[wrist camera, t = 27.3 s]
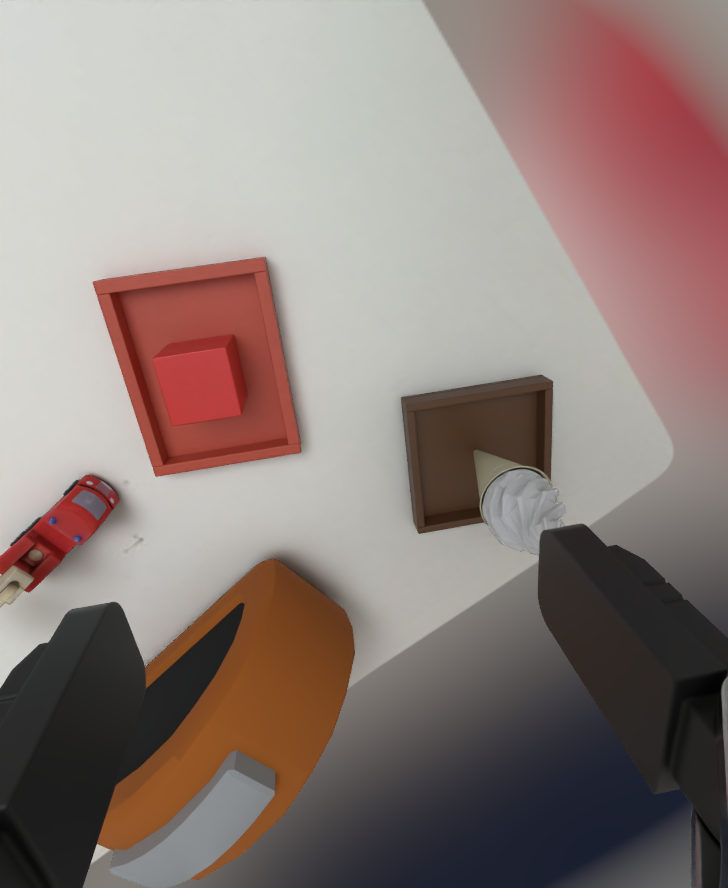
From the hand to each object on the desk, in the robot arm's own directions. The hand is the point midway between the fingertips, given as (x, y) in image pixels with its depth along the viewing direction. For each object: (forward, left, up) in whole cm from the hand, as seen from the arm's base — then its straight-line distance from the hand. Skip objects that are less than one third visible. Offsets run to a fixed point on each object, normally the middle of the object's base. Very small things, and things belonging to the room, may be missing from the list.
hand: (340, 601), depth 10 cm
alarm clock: (+26, -12, -29) cm, 41 cm away
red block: (+1, -7, -28) cm, 29 cm away
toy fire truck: (+12, -22, -29) cm, 38 cm away
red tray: (+1, -7, -29) cm, 29 cm away
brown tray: (+11, +12, -29) cm, 33 cm away
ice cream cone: (+11, +12, -28) cm, 33 cm away
